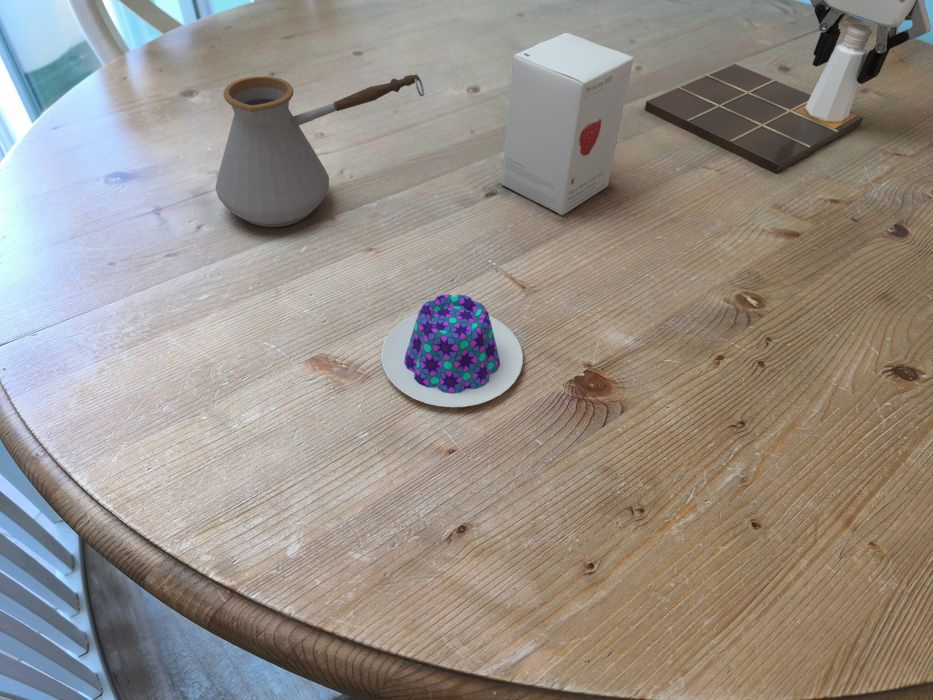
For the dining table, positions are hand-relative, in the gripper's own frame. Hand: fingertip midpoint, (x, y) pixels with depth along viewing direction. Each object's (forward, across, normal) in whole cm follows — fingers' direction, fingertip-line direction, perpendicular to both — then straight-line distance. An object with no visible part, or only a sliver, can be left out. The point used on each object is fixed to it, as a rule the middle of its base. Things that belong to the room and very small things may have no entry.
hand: (842, 70), depth 93 cm
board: (+7, +6, +6) cm, 12 cm away
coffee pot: (+7, +22, +62) cm, 67 cm away
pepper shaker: (+6, 0, 0) cm, 6 cm away
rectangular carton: (+7, +10, +40) cm, 42 cm away
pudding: (+7, -4, +66) cm, 67 cm away
